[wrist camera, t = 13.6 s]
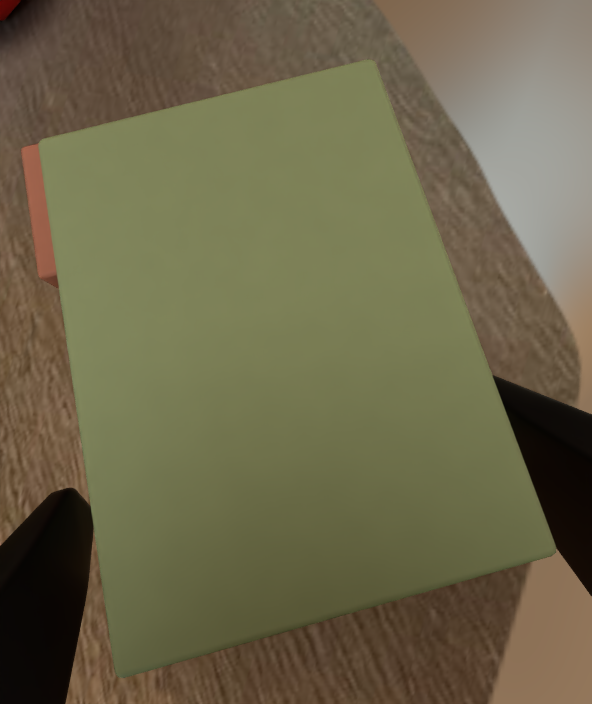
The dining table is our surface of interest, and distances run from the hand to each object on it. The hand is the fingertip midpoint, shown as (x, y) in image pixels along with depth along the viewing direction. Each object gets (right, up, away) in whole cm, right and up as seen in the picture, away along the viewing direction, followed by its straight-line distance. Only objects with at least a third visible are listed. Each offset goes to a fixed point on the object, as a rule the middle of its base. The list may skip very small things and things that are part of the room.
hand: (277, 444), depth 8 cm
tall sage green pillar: (0, 0, +8) cm, 8 cm away
